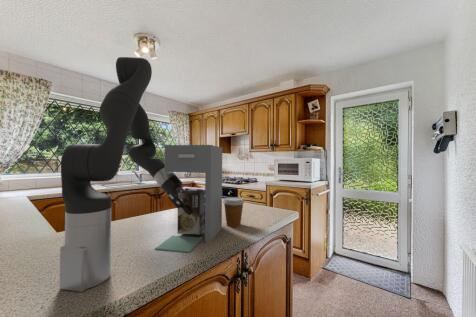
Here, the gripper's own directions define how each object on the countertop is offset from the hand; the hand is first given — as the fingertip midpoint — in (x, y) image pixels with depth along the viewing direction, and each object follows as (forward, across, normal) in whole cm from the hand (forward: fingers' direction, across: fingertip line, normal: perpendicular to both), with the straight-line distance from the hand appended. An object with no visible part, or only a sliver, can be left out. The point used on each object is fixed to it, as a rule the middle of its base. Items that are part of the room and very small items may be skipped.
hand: (194, 211), depth 83 cm
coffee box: (+5, 0, +7) cm, 8 cm away
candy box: (+2, +15, +11) cm, 19 cm away
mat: (+5, -10, +8) cm, 13 cm away
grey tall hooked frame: (+6, +1, +7) cm, 9 cm away
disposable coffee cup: (+15, +15, -2) cm, 22 cm away
